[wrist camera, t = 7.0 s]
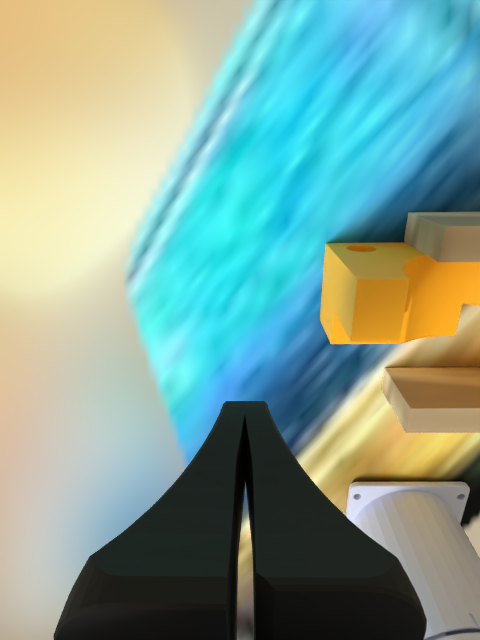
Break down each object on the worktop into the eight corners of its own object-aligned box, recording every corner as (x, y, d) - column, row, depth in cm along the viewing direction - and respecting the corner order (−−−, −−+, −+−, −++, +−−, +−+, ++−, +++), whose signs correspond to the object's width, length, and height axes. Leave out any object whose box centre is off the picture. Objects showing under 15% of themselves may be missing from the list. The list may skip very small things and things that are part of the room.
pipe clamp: (319, 318, 22) (346, 379, 16) (325, 242, 20) (357, 279, 15) (532, 316, 22) (638, 377, 16) (556, 240, 20) (685, 276, 14)
